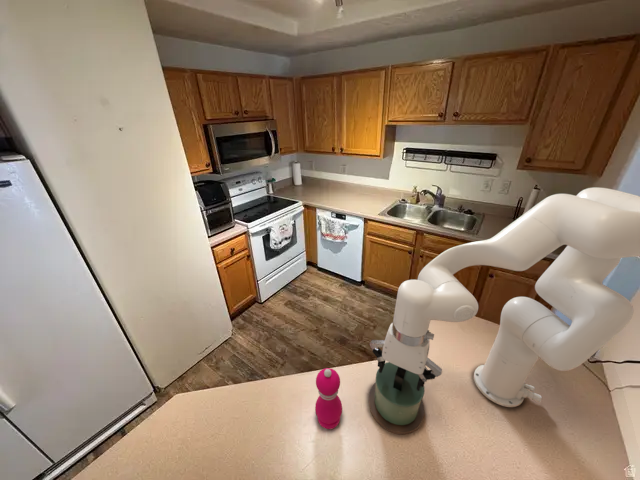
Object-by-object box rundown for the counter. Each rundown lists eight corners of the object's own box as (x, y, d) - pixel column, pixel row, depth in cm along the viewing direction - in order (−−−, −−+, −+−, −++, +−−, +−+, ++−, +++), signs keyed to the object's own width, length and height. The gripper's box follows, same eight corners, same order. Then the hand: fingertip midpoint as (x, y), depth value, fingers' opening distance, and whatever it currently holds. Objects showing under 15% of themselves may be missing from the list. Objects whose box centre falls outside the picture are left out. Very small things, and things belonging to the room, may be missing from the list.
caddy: (423, 393, 74) (432, 358, 67) (413, 436, 65) (423, 401, 58) (381, 373, 80) (385, 340, 73) (367, 410, 71) (370, 376, 63)
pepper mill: (340, 434, 67) (340, 388, 58) (313, 428, 69) (309, 382, 59) (343, 405, 73) (344, 359, 64) (318, 401, 75) (316, 355, 65)
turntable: (428, 394, 75) (428, 391, 75) (417, 447, 64) (417, 444, 64) (378, 371, 82) (378, 368, 82) (360, 415, 71) (360, 413, 70)
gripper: (452, 333, 58) (437, 380, 66) (378, 306, 66) (372, 352, 74) (448, 358, 52) (432, 406, 60) (367, 326, 60) (363, 373, 68)
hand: (399, 376), depth 67 cm, fingers open, 9 cm apart
